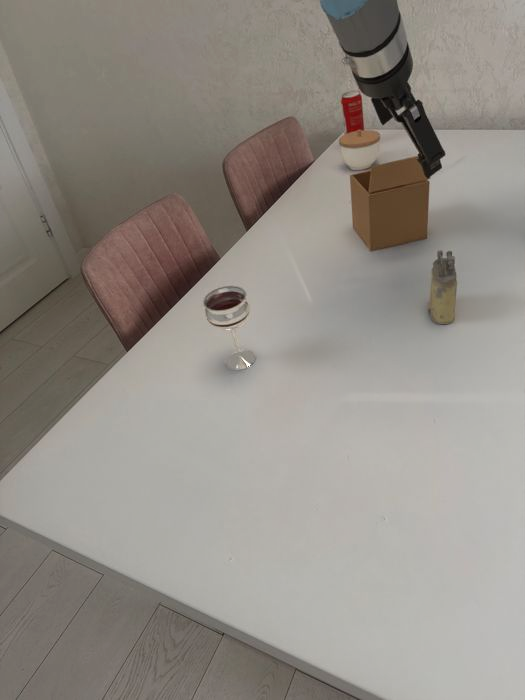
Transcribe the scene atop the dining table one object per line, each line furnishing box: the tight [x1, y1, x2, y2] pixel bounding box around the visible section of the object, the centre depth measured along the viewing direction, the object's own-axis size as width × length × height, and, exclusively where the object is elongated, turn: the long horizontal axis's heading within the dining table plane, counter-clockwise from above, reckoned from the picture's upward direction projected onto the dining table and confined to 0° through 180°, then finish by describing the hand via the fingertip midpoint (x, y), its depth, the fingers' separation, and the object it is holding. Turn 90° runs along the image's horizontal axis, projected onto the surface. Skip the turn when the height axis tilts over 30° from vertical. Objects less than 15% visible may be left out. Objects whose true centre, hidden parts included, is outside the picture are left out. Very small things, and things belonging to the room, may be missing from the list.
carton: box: [349, 169, 431, 252], centre depth 101 cm, size 12×12×12 cm
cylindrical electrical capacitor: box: [427, 249, 458, 325], centre depth 78 cm, size 7×4×10 cm, turn 170°
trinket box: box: [338, 129, 381, 171], centre depth 133 cm, size 11×11×9 cm
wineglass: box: [202, 285, 256, 371], centre depth 77 cm, size 7×7×12 cm
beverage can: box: [340, 90, 365, 135], centre depth 144 cm, size 6×6×15 cm
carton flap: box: [369, 155, 431, 193], centre depth 90 cm, size 6×12×1 cm
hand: (410, 144), depth 83 cm, fingers open, 13 cm apart
